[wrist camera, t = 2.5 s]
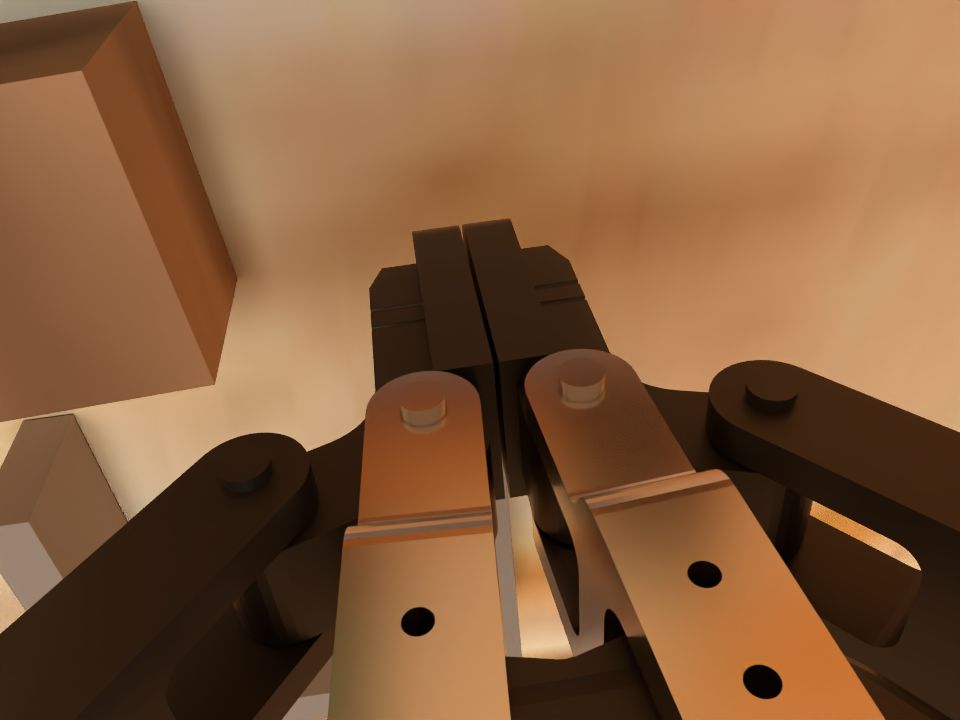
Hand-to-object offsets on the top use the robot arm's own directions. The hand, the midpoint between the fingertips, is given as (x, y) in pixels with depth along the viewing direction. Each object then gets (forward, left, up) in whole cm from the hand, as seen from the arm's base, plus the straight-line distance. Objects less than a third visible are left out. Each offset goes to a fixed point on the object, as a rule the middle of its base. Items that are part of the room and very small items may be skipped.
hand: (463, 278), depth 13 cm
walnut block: (+8, 0, -6) cm, 10 cm away
